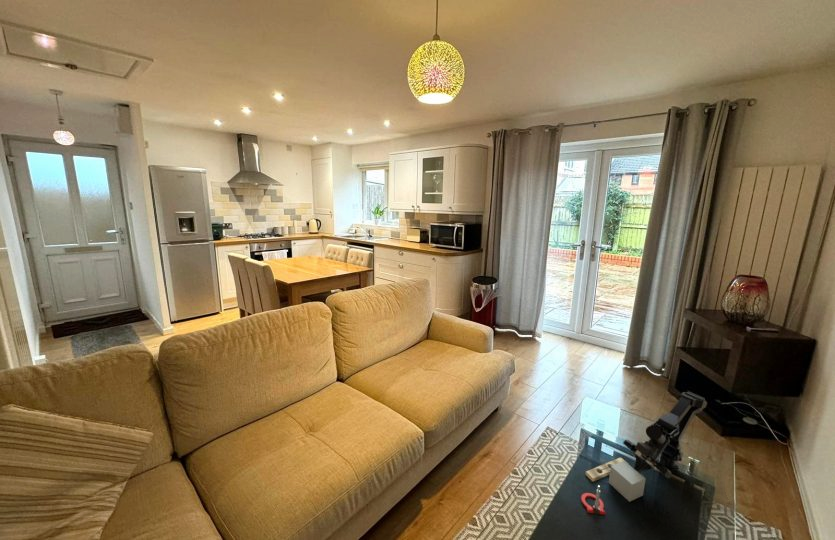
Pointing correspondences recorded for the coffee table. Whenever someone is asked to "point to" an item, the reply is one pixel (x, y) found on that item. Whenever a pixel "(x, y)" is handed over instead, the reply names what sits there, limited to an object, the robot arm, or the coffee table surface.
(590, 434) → the coffee table surface
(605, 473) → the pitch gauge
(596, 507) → the red shackle
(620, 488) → the block
